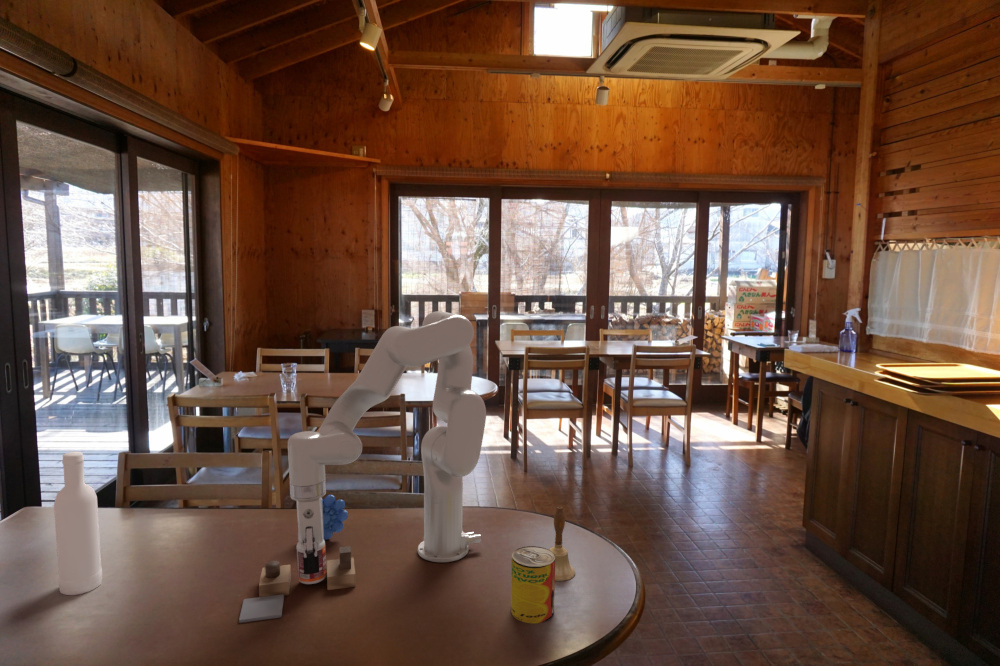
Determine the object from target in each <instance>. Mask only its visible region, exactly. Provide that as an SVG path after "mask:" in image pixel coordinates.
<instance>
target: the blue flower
mask: <svg viewBox="0 0 1000 666" xmlns="http://www.w3.org/2000/svg"><path fill="white" fill-rule="evenodd" d="M322 507H323V531H324V538H323V539H324V541H326V540H327V541H328V540H329V539H331V538H332V537H333V536H334V534H338V533H340V532H342V530H343V529H344V521H346V520H347V519H348V517H349V512H348V510H346V509H345V507H346V502H345V500H343V499H340V498H339V499H337V500H336V496H335V495H333V494H328V495H326V496H324V499H323V498H322ZM333 533H334V534H333Z"/></svg>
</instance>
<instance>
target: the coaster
mask: <svg viewBox="0 0 1000 666" xmlns="http://www.w3.org/2000/svg"><path fill="white" fill-rule="evenodd" d="M284 599H285V596H284V594H281V595H273V596H265V597H259V596H258V597H251V598H244V599H243V601H242V606H241V609H240V613H239V618H238V623H240V624H242V623H248V622H249V623H250V622H257V621H263V620H271V619H278V618H283V617H282V616H283V609H284V602H285V601H284Z"/></svg>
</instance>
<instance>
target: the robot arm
mask: <svg viewBox="0 0 1000 666" xmlns="http://www.w3.org/2000/svg"><path fill="white" fill-rule="evenodd" d="M474 337H475V329H474V326H473V324H472V322H471V321H470V320H469V319H468V318H467V317H466V316H464V315H460V314H458V313H457V314H456V313H452V312H447V311H441V310H440V311H439V310H438V311H432V312H430V313H428V314H427V315H426V316H425V317H424V319H423V321H422V325H421V326H419V327H415V328H411V327H406V326H401V325H395V326H391V327H389V328H388V329H386V330H385V331H384V332H383V334H382V335H381V337H380V338H379V340H378V342H377V344H376V346H375V347H374V349H373V350H372V351H371V354H370V356H369V357H368V359H367V361H366V362H365V364H364V366H363V367H362V370H361V371H360V373H359V374H358V375H357V377H356V379H355V381H354V382H352V383H351V384H350V385H349V386H348V387H347V389H345V391H344V392H343V393H342V394H341V395H340V396H339V397H338V398H337V399H336V400H335V402H334V403H333V405H332V406H331V408H330V410H328V412H327V414H326V415H325V418H324V420H323V422H322V423H321V425H320V427H319V430H318V431H314V430H305V431H301V432H299V431H298V432H296V433H293V434H291V435H290V436H289V437H288V439H287V456H288V457H287V458H288V460H287V461H288V473H289V476H288V477H289V494H290V499H291V500H293V501H295V502H296V514H297V526H298V531H299V537H300V544H302V545H304V556H303V566H304V574H305V575H307V574H314V573H318V572H319V555H318V554H317V542H320V543H322V542H323V538H324V531H323V507H322V499H323V497H325V495H326V494H327V489H326V488H327V486H326V485H327V484H326V483H327V481H326V466H336V465H337V466H341V465H348V464H352V463H353V462H355V461H356V460H358V459H359V457H360V456H361V455H362V452H363V443H362V439H360V437H359V436H358V435H357V433H355V432H354V429H355V427H356V426H357V424H358V422H359V420H360V419H361V418H362V416H364V415H365V413H366V412H367V411H368V410H369V409H370V408H373V407H374V406H376V405H378V404H380V403H383V402H385V401H386V400H387V399H389V398H390V397H391V395H392V393H393V392H394V390H395V388H396V386H397V384H398V382H399V381H400V379H401V378H402V375H403V374H404V373H405V370H406V369H407V368H416V367H420V366H423V365H427V364H430V363H433V362H436V361H438V366H437V376H436V381H435V382H436V383H435V388H434V395H433V399H432V412H433V414H434V415H435V417H436V418H438V420H441V421H442V422H443V423H445V424H447V425H446V426H444V425H438V426H437V425H436V426H434V427H432V428H430V429H429V430H428V431H426V433H425V434H424V435H423V438H422V440H421V445H420V449H421V450H420V452H421V462H422V466H423V467H422V468H423V469H422V470H423V486H424V487H423V489H424V490H423V508H424V509H423V511H424V512H423V541H421V542H420V543H419V544H418V546H417V555H419V557H421V559H424V560H426V561H428V562H433V563H450V562H455V561H459V560H460V559H462V558H464V557H465V556H466V555H467V554H468V553H469V545H470V544H477V543H478V544H479V543H482V535H481V534H475V533H474V531H470V532H468V531H467V532H465V531H463V502H464V501H463V493H464V487H463V486H464V482H463V481H464V480H463V477H466V476H468V475H469V474H471V473H472V472H473V471H474V470H475V468H476V466H477V465H478V463H479V459H480V456H481V453H482V452H481V451H482V445H483V440H484V434H485V427H486V421H487V409H486V405H485V401H484V399H483V398H482V397H481V395H480V394H478V393H477V392H475V391H474V390H472V380H473V371H474V356H473V351H472V347H471V345H470V344H471V343H472V342H473V340H474ZM312 527H313V532H312ZM313 539H315V541H314V542H313ZM305 540H307V542H306V543H305ZM306 545H307V549H306ZM313 545H314V548H313Z"/></svg>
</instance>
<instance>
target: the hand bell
mask: <svg viewBox="0 0 1000 666" xmlns="http://www.w3.org/2000/svg"><path fill="white" fill-rule="evenodd" d="M555 510H556V511H555V513H554V516H553V526H554V527H553V528H554V531H555V539H554V546H552V547H550V548H549V549H548V550H550V551H552V552H553V553H554V554H555V582H564V581H570V580H572V579H573V578H575V576H576V571H575V568H574V567H573V566H572V565H571V563H570V559H569V552H568V550H567V549H566V548H565V547H563V532H564V529H565V524H566V515H565V513H564V508H563V506H557V507H556V509H555Z"/></svg>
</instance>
